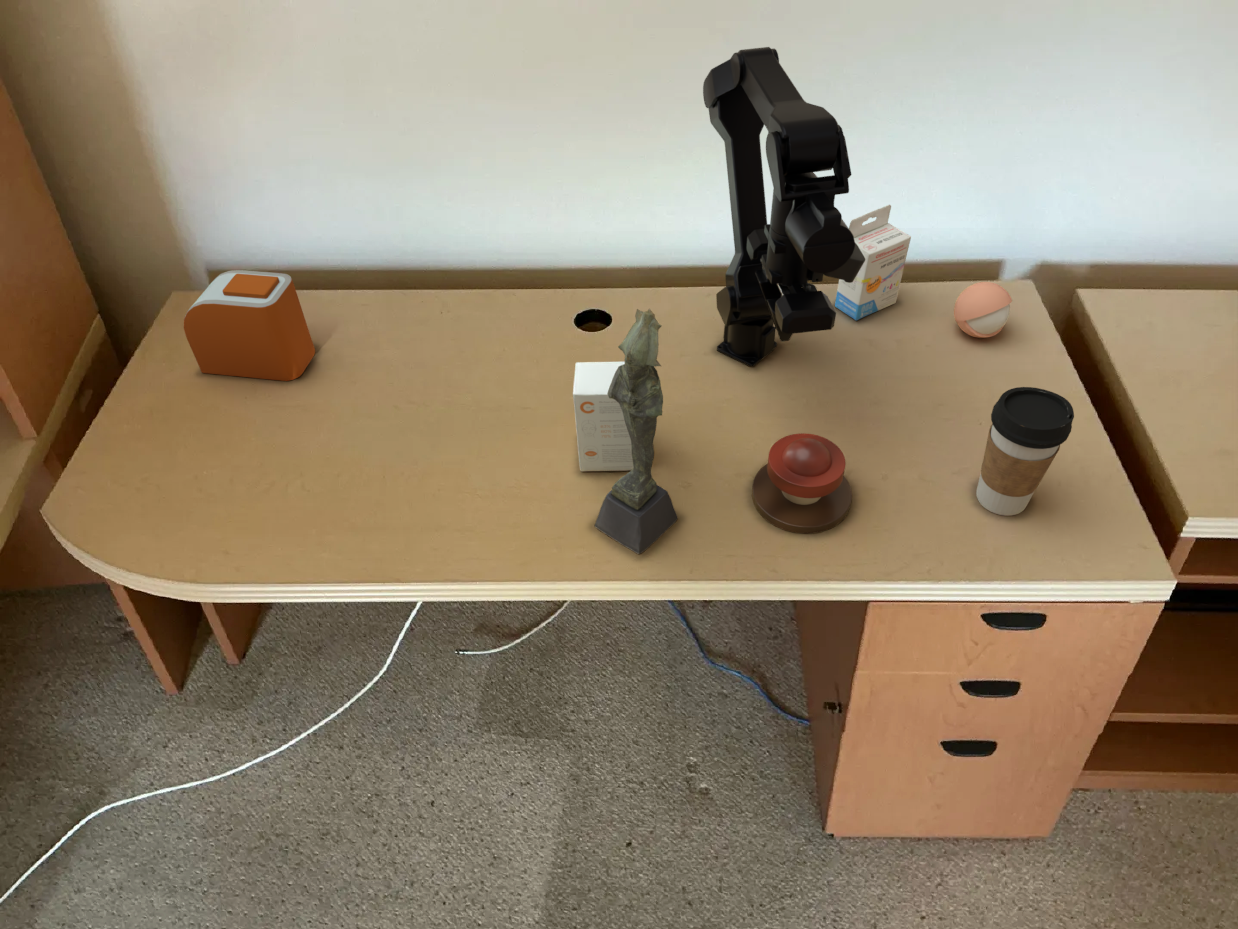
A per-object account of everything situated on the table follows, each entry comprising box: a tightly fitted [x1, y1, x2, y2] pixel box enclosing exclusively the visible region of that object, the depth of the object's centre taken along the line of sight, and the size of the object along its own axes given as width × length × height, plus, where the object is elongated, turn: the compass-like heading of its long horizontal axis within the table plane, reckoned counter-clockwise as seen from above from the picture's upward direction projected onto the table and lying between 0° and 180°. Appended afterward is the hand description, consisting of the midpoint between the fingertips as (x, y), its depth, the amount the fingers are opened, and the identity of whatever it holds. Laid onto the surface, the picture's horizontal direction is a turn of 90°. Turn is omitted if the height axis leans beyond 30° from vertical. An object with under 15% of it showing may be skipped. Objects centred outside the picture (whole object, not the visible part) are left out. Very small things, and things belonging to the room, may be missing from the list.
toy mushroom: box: [751, 432, 853, 534], centre depth 112 cm, size 12×12×9 cm
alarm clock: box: [183, 269, 316, 382], centre depth 133 cm, size 15×8×14 cm, turn 80°
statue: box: [594, 308, 679, 555], centre depth 102 cm, size 7×8×30 cm
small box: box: [572, 360, 633, 472], centre depth 117 cm, size 8×6×13 cm
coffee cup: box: [975, 386, 1075, 517], centre depth 109 cm, size 8×8×15 cm
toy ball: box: [953, 281, 1013, 339], centre depth 135 cm, size 8×8×8 cm
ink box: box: [834, 204, 912, 321], centre depth 138 cm, size 8×5×15 cm, turn 123°
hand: (782, 334), depth 119 cm, fingers closed
